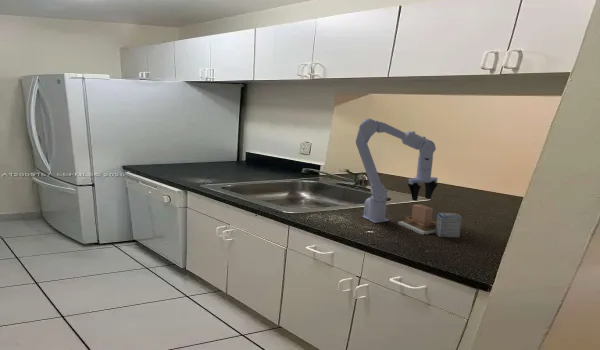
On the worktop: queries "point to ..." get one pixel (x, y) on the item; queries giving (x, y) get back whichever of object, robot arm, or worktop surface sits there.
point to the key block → (422, 214)
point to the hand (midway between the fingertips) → (421, 199)
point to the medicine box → (448, 224)
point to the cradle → (418, 226)
